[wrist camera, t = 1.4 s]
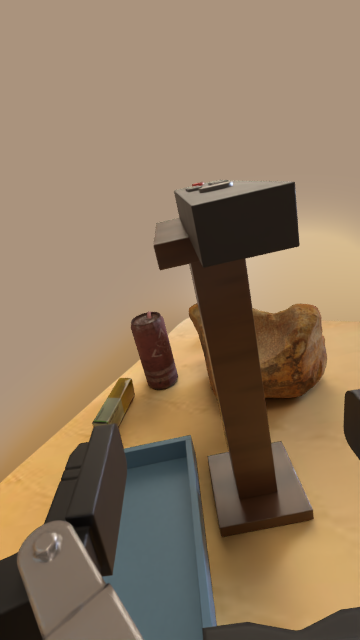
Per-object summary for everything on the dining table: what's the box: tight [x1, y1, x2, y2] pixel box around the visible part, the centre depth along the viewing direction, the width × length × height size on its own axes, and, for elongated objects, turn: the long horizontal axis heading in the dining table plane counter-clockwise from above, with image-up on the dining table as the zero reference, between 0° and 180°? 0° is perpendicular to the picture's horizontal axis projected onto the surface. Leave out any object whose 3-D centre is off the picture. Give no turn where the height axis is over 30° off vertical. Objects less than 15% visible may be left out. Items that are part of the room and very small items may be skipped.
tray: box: [102, 435, 217, 640], centre depth 34 cm, size 27×15×4 cm, turn 3°
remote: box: [174, 180, 299, 268], centre depth 23 cm, size 20×4×3 cm, turn 3°
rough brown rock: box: [189, 303, 327, 401], centre depth 55 cm, size 23×17×15 cm
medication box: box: [92, 378, 134, 427], centre depth 57 cm, size 12×3×4 cm, turn 168°
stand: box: [154, 218, 314, 537], centre depth 34 cm, size 12×10×32 cm
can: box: [131, 312, 178, 390], centre depth 63 cm, size 6×6×14 cm
